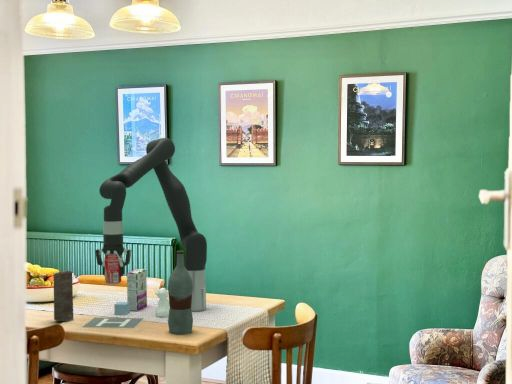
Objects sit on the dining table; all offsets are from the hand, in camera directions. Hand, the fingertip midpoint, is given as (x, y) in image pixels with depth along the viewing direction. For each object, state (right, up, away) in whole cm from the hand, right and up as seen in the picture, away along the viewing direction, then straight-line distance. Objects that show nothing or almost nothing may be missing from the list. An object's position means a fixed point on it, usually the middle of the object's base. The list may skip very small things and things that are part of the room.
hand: (113, 275), depth 256 cm
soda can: (0, -3, 0) cm, 3 cm away
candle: (-21, -19, +5) cm, 29 cm away
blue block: (0, -18, +17) cm, 25 cm away
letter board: (0, -19, +1) cm, 19 cm away
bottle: (+27, -19, -11) cm, 35 cm away
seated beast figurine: (+18, -19, +13) cm, 29 cm away
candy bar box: (+4, -18, +29) cm, 35 cm away
